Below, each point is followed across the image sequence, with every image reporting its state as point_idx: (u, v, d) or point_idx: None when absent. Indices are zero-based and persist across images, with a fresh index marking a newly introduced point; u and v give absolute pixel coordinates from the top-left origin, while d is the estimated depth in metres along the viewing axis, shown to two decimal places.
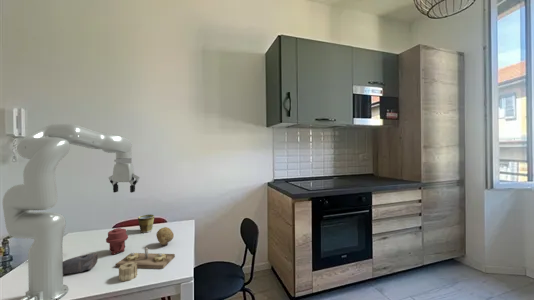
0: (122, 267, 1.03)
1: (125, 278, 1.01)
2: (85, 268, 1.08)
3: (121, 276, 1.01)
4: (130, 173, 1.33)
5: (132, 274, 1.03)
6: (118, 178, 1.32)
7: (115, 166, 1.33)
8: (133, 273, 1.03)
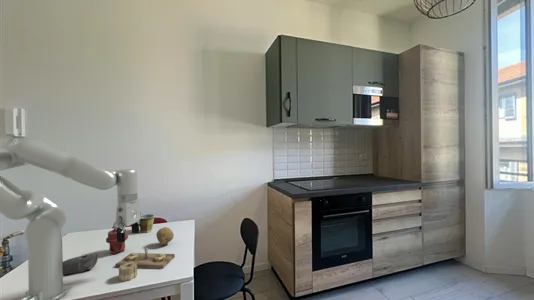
0: (122, 267, 1.03)
1: (125, 278, 1.01)
2: (85, 268, 1.08)
3: (121, 276, 1.01)
4: None
5: (132, 274, 1.03)
6: (132, 219, 1.03)
7: (128, 205, 1.01)
8: (133, 273, 1.03)
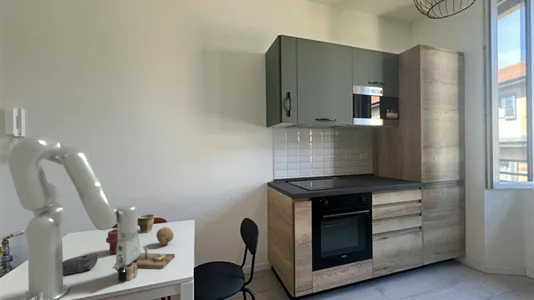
0: (122, 267, 1.03)
1: None
2: (85, 268, 1.08)
3: None
4: None
5: (132, 274, 1.03)
6: (132, 257, 1.03)
7: (128, 243, 1.01)
8: (133, 273, 1.03)
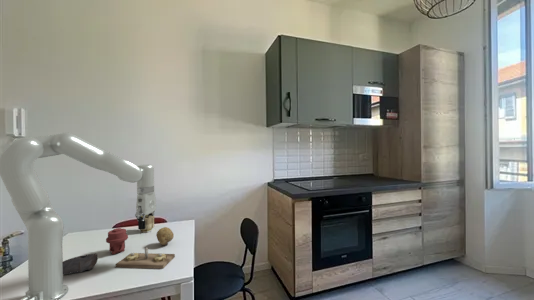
0: None
1: None
2: (85, 268, 1.08)
3: None
4: None
5: (150, 224, 1.17)
6: (150, 209, 1.17)
7: (147, 196, 1.15)
8: (151, 223, 1.17)
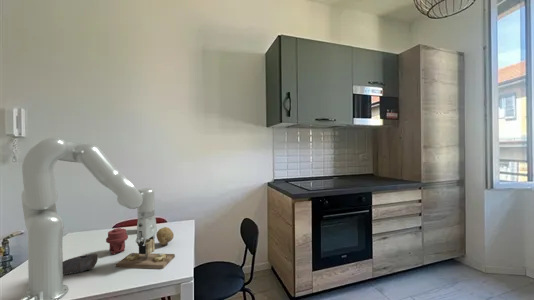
0: None
1: None
2: (85, 268, 1.08)
3: None
4: None
5: (151, 248, 1.17)
6: (150, 233, 1.17)
7: (147, 221, 1.15)
8: (151, 248, 1.17)
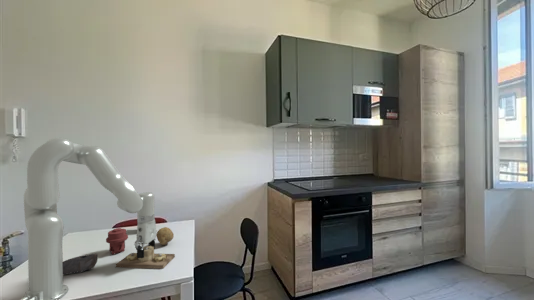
0: None
1: (144, 260, 1.15)
2: (85, 268, 1.08)
3: None
4: None
5: (150, 256, 1.17)
6: (150, 237, 1.17)
7: (147, 225, 1.15)
8: (151, 255, 1.17)
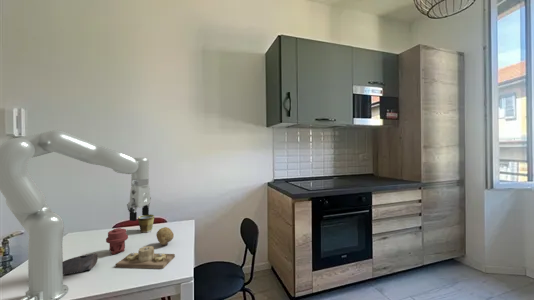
0: (141, 250, 1.17)
1: (144, 260, 1.15)
2: (85, 268, 1.08)
3: (140, 257, 1.15)
4: None
5: (150, 256, 1.17)
6: (143, 202, 1.17)
7: (140, 189, 1.15)
8: (151, 255, 1.17)
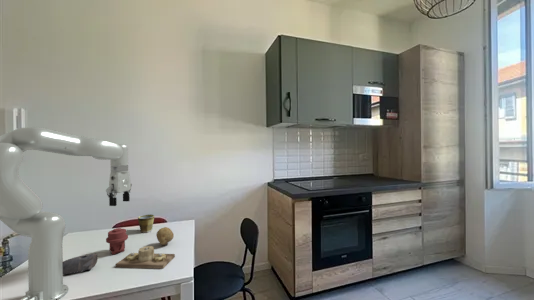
0: (141, 250, 1.17)
1: (144, 260, 1.15)
2: (85, 268, 1.08)
3: (140, 257, 1.15)
4: None
5: (150, 256, 1.17)
6: (123, 187, 1.18)
7: (120, 174, 1.16)
8: (151, 255, 1.17)
